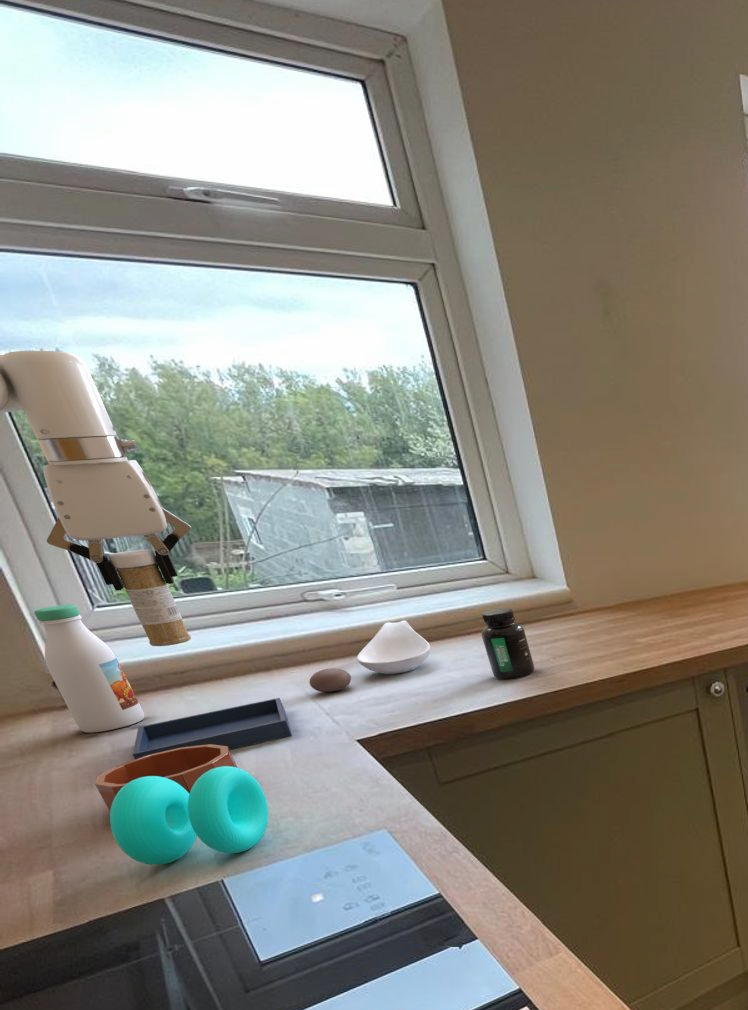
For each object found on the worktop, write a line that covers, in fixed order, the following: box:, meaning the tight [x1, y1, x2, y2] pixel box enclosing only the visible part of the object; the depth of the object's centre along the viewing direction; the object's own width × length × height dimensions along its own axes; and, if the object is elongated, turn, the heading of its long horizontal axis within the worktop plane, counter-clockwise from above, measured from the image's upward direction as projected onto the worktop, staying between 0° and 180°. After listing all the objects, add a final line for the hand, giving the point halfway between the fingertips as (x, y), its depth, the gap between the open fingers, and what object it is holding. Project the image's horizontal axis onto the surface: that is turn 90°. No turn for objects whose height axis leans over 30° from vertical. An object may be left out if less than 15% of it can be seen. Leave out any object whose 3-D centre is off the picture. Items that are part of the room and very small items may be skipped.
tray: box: [132, 697, 293, 760], centre depth 127 cm, size 17×15×3 cm
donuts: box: [109, 766, 269, 866], centre depth 92 cm, size 10×10×10 cm
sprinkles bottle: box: [108, 549, 192, 647], centre depth 117 cm, size 5×5×14 cm
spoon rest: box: [356, 619, 431, 675], centre depth 161 cm, size 24×12×7 cm, turn 31°
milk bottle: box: [34, 604, 145, 733], centre depth 131 cm, size 8×8×20 cm
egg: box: [308, 667, 352, 693], centre depth 146 cm, size 6×6×4 cm
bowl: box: [95, 744, 239, 812], centre depth 106 cm, size 13×13×5 cm
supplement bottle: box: [481, 608, 535, 680], centre depth 150 cm, size 7×7×12 cm
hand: (144, 584), depth 116 cm, fingers closed on sprinkles bottle, 4 cm apart
